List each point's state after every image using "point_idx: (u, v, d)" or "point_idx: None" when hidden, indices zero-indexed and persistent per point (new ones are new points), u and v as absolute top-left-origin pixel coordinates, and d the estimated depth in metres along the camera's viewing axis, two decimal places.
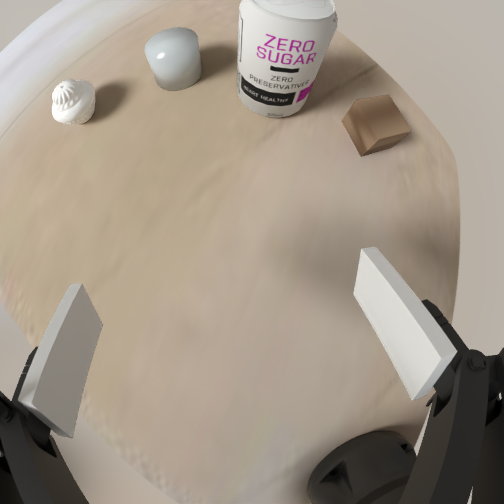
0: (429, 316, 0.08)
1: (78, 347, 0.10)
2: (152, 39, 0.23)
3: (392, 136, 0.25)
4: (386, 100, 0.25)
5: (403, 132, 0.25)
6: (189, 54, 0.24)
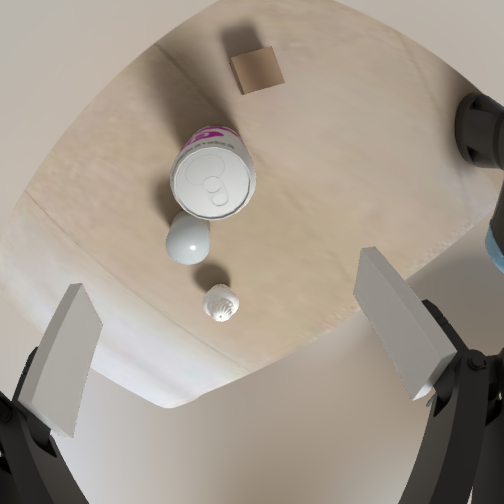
0: (429, 316, 0.08)
1: (78, 347, 0.10)
2: (180, 260, 0.39)
3: (278, 67, 0.28)
4: (240, 62, 0.27)
5: (274, 55, 0.27)
6: (200, 229, 0.37)
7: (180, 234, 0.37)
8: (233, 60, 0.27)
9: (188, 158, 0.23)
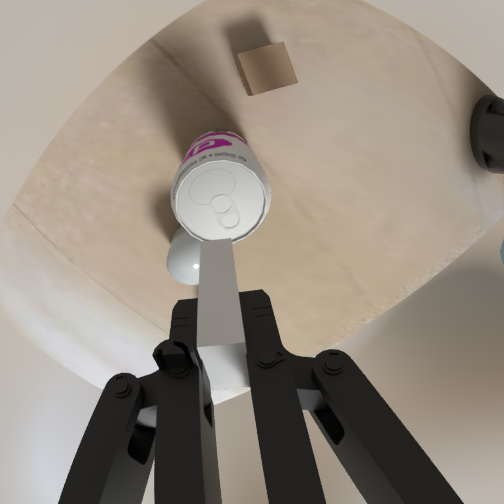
0: (239, 304, 0.10)
1: None
2: (182, 281, 0.35)
3: None
4: (247, 59, 0.23)
5: (286, 51, 0.23)
6: None
7: (182, 253, 0.33)
8: (240, 57, 0.23)
9: (192, 173, 0.20)
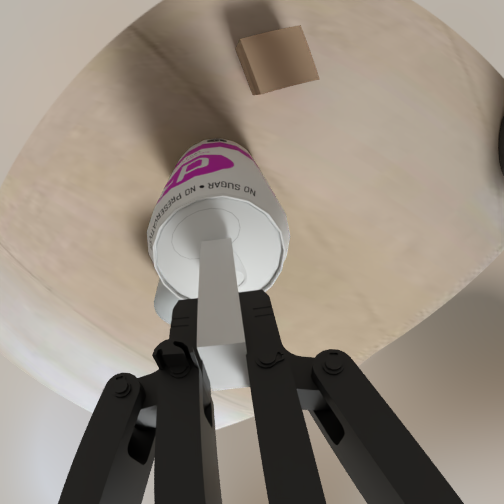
0: (239, 304, 0.10)
1: None
2: None
3: None
4: (254, 46, 0.17)
5: (304, 38, 0.17)
6: None
7: (172, 293, 0.27)
8: (243, 43, 0.17)
9: (174, 215, 0.13)
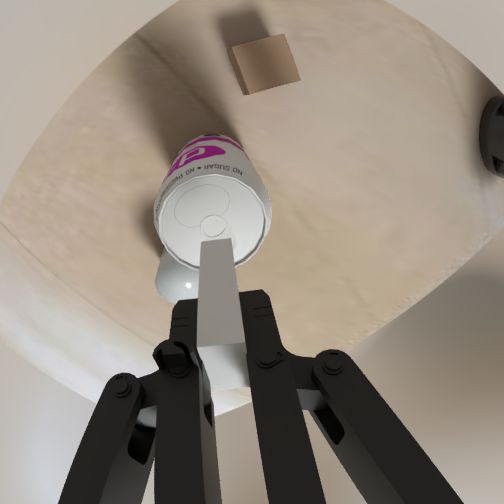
0: (239, 304, 0.10)
1: None
2: (173, 301, 0.32)
3: None
4: (243, 53, 0.20)
5: (287, 44, 0.20)
6: None
7: (172, 271, 0.30)
8: (234, 50, 0.20)
9: (177, 190, 0.16)
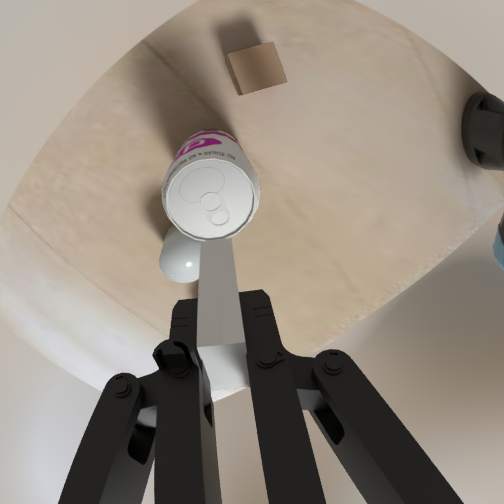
0: (239, 304, 0.10)
1: None
2: (175, 279, 0.35)
3: (280, 64, 0.25)
4: (237, 59, 0.24)
5: (275, 51, 0.24)
6: (197, 245, 0.34)
7: (175, 251, 0.33)
8: (230, 57, 0.24)
9: (182, 172, 0.20)
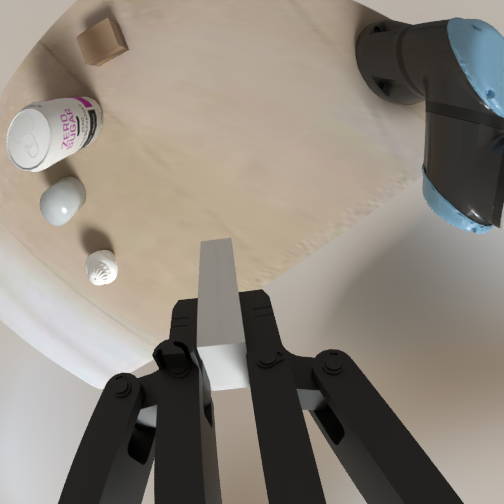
0: (239, 304, 0.10)
1: None
2: (52, 222, 0.35)
3: (114, 33, 0.24)
4: (82, 38, 0.23)
5: (110, 24, 0.23)
6: (63, 190, 0.33)
7: (48, 196, 0.32)
8: (78, 38, 0.23)
9: (13, 123, 0.19)
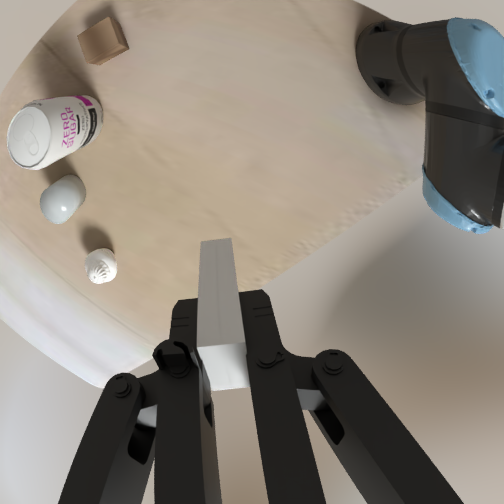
0: (239, 304, 0.10)
1: None
2: (52, 220, 0.35)
3: (115, 32, 0.24)
4: (83, 37, 0.23)
5: (110, 23, 0.23)
6: (63, 188, 0.33)
7: (48, 194, 0.32)
8: (78, 37, 0.23)
9: (13, 121, 0.19)
